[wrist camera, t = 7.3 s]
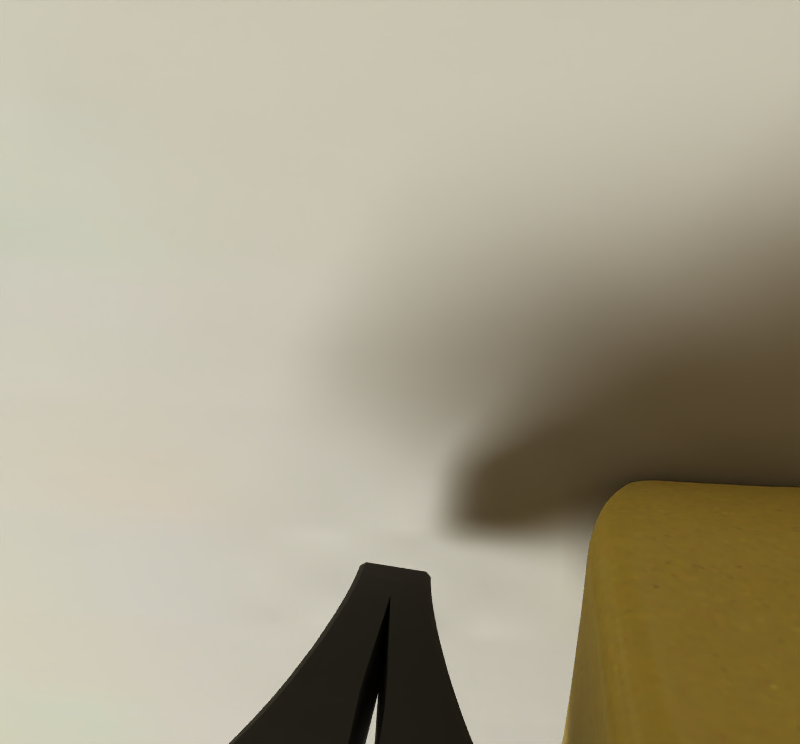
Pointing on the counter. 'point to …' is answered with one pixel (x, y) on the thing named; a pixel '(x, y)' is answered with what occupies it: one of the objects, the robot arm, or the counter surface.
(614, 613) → the flower pot
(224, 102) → the counter surface
